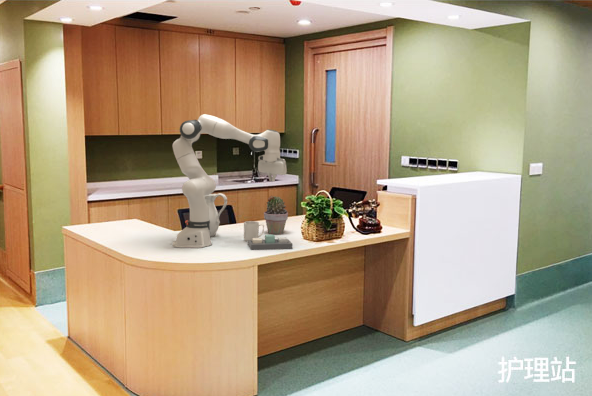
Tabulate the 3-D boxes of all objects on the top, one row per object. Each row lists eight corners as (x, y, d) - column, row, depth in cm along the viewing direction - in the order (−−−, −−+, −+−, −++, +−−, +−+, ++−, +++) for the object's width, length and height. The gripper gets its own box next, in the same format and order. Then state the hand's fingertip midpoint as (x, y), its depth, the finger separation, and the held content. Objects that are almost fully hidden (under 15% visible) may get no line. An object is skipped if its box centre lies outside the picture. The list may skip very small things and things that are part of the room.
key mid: (266, 243, 340) (266, 236, 340) (264, 241, 345) (264, 234, 345) (274, 243, 342) (275, 236, 341) (273, 241, 346) (273, 234, 346)
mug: (244, 242, 355) (244, 223, 353) (243, 239, 364) (243, 221, 362) (264, 241, 357) (264, 223, 355) (262, 238, 366) (263, 221, 364)
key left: (253, 246, 339) (253, 240, 338) (252, 245, 344) (252, 238, 343) (261, 246, 340) (262, 239, 340) (260, 244, 345) (260, 238, 344)
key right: (279, 246, 342) (279, 239, 342) (277, 244, 347) (277, 237, 347) (287, 245, 343) (287, 239, 343) (285, 244, 348) (285, 237, 348)
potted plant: (291, 230, 394) (292, 192, 391) (288, 236, 375) (288, 196, 371) (264, 229, 396) (265, 192, 392) (259, 234, 377) (260, 195, 373)
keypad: (250, 250, 335) (250, 244, 334) (247, 245, 347) (247, 239, 347) (292, 248, 340) (292, 243, 340) (287, 243, 353) (287, 238, 352)
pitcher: (186, 236, 368) (186, 191, 364) (202, 231, 383) (202, 188, 379) (218, 240, 357) (218, 194, 353) (233, 235, 372) (233, 191, 368)
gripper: (289, 158, 342) (288, 182, 344) (263, 156, 355) (263, 179, 357) (281, 159, 337) (281, 183, 339) (256, 156, 351) (256, 180, 353)
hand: (272, 181), depth 348 cm, fingers closed
